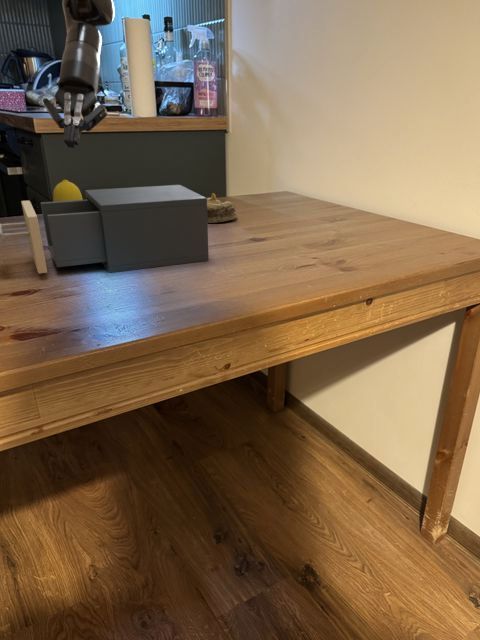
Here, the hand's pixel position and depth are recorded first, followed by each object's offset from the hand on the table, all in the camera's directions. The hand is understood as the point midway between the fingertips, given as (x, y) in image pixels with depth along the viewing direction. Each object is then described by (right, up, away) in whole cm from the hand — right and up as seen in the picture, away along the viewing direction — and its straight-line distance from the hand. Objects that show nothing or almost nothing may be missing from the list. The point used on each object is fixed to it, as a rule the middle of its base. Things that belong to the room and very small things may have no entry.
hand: (70, 145), depth 100 cm
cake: (+28, -13, +6) cm, 32 cm away
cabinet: (+20, -26, -19) cm, 38 cm away
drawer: (+9, -27, -24) cm, 38 cm away
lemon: (-1, -15, +2) cm, 15 cm away
